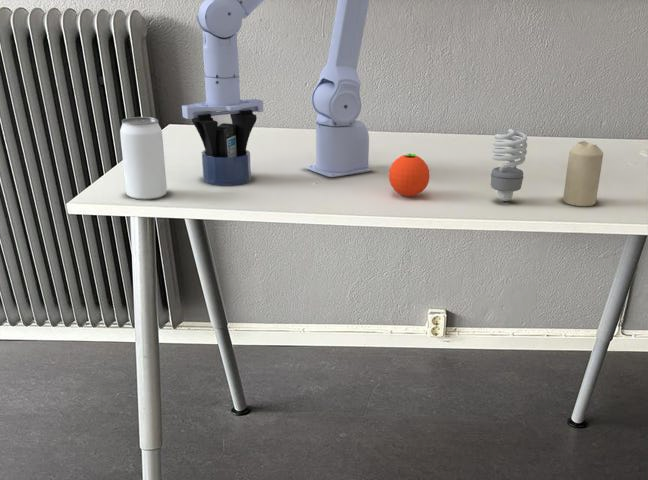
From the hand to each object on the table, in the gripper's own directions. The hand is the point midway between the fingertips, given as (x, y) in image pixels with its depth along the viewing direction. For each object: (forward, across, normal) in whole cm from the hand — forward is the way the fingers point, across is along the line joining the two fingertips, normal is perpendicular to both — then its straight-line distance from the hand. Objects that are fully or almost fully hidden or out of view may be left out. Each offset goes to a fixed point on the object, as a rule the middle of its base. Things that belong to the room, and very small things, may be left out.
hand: (226, 157), depth 146 cm
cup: (+4, 0, 0) cm, 4 cm away
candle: (+4, +43, -44) cm, 62 cm away
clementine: (+4, +21, -25) cm, 33 cm away
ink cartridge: (+3, 0, 0) cm, 3 cm away
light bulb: (+4, +32, -37) cm, 49 cm away
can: (+4, -16, -2) cm, 17 cm away
